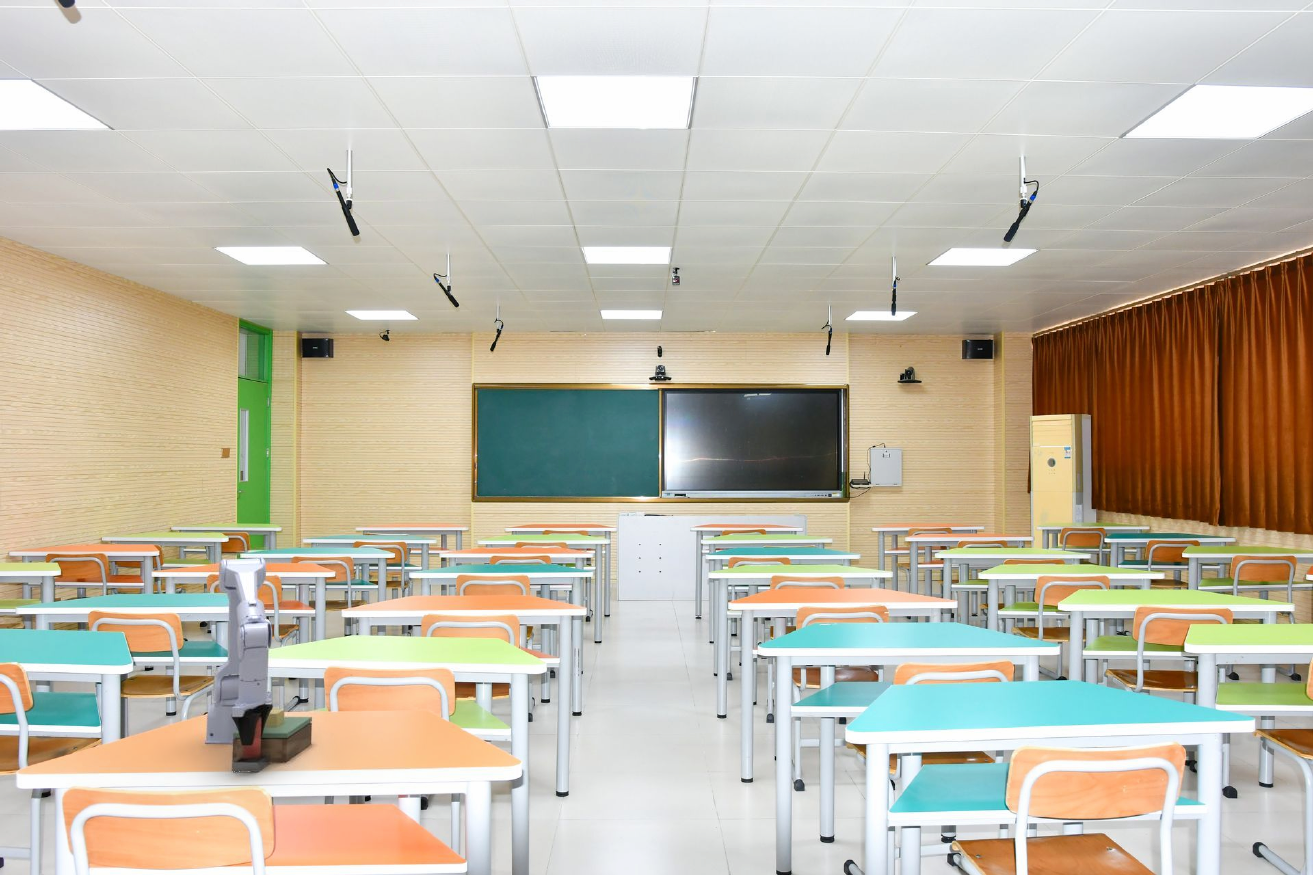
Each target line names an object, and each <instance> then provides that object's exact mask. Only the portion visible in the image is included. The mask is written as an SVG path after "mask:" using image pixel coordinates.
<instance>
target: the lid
mask: <svg viewBox="0 0 1313 875" xmlns="http://www.w3.org/2000/svg"><path fill="white" fill-rule="evenodd" d="M309 723H313V717H312V716H285V708H283V709H277V708H276V709H275V708H272V710H271V712H270V714H269V716H268V718H267V721H266V724H265V727H264V731H263V735H262V738H288V737H289V736H291V735H292V734H294V733H295V732H297V731H298V730H300V729H301V728H303V727H304V726H306V725H307V724H309ZM233 738H240V736H239V732H238V731H236V732H234V733H233Z"/></svg>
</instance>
